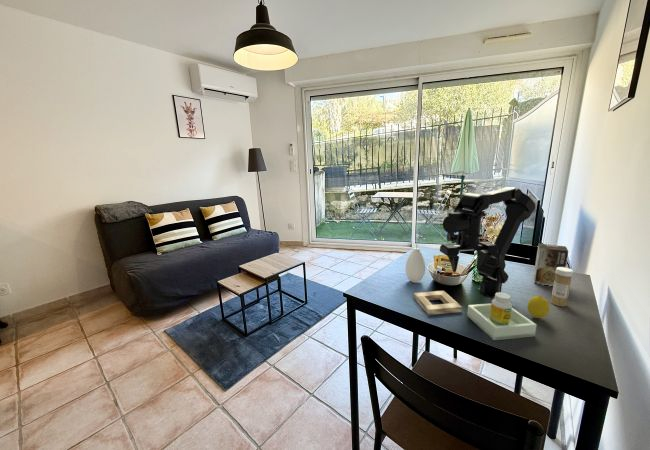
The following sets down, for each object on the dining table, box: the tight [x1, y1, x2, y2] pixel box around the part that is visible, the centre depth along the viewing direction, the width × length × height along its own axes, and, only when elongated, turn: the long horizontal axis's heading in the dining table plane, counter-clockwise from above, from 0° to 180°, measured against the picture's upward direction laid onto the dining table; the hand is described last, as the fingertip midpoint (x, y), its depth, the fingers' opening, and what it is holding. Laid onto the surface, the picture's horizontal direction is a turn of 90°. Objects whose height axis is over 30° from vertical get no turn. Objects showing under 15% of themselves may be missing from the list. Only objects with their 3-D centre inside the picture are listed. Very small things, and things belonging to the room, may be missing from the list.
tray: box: [466, 302, 538, 341], centre depth 87 cm, size 13×13×4 cm
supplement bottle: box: [490, 291, 513, 326], centre depth 87 cm, size 5×5×10 cm
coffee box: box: [532, 243, 569, 286], centre depth 113 cm, size 9×6×16 cm
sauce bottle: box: [404, 242, 426, 284], centre depth 117 cm, size 8×8×18 cm
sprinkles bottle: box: [550, 267, 574, 307], centre depth 98 cm, size 5×5×13 cm
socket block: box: [413, 290, 463, 316], centre depth 101 cm, size 12×12×2 cm
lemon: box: [527, 295, 550, 319], centre depth 90 cm, size 6×6×8 cm
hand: (466, 271), depth 100 cm, fingers open, 9 cm apart
